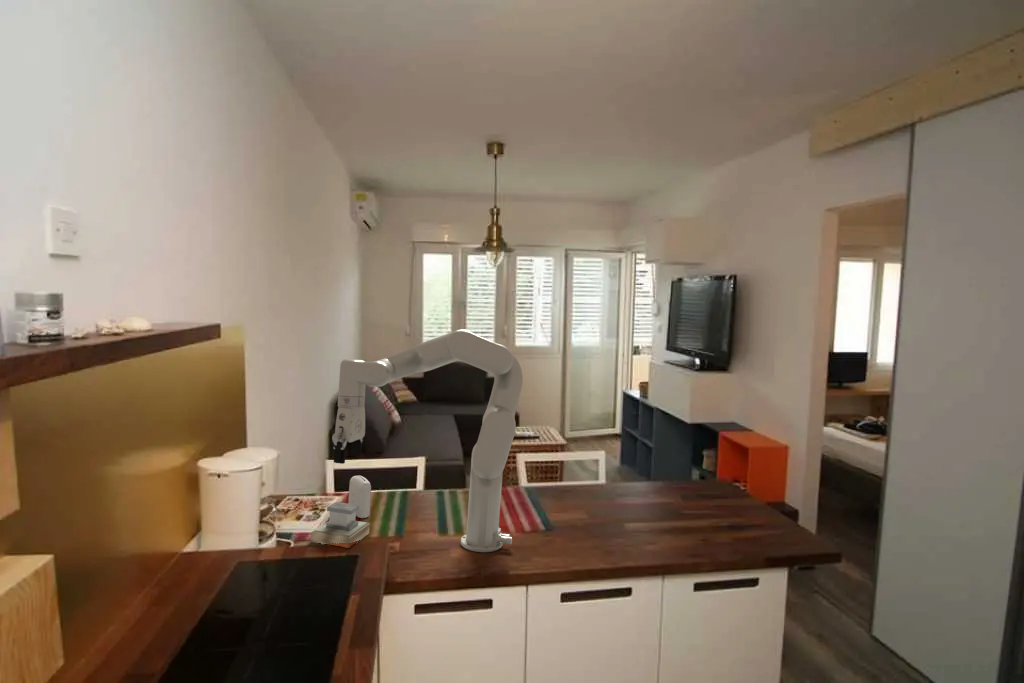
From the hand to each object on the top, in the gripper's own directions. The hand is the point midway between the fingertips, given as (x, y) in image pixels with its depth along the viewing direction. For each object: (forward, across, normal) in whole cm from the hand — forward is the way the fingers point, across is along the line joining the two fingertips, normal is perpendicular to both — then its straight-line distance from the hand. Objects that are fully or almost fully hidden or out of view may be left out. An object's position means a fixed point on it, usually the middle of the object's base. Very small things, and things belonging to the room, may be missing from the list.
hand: (347, 459), depth 156 cm
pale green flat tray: (+23, 0, 0) cm, 23 cm away
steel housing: (+20, 0, 0) cm, 20 cm away
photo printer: (+24, +20, +5) cm, 31 cm away
